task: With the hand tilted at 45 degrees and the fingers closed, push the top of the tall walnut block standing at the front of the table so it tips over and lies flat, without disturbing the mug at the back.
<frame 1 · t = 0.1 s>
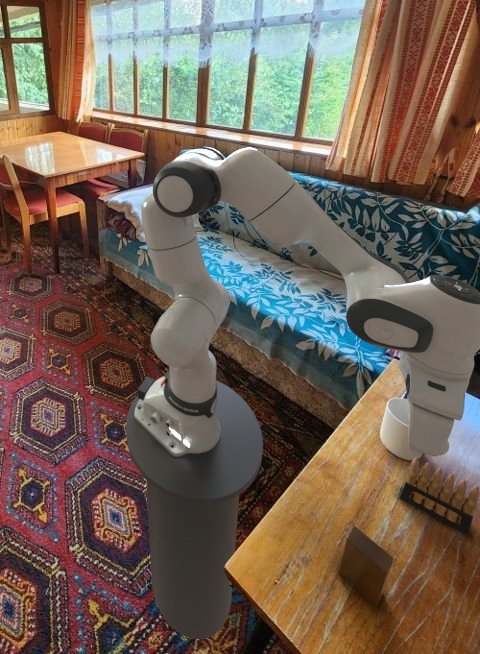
hand: (414, 427, 66), 25 cm above the table, tool pointing down, fingers open, 8 cm apart
mug: (409, 450, 86), on the table
ammunition clip: (431, 512, 74), on the table
walnut block: (360, 582, 65), on the table
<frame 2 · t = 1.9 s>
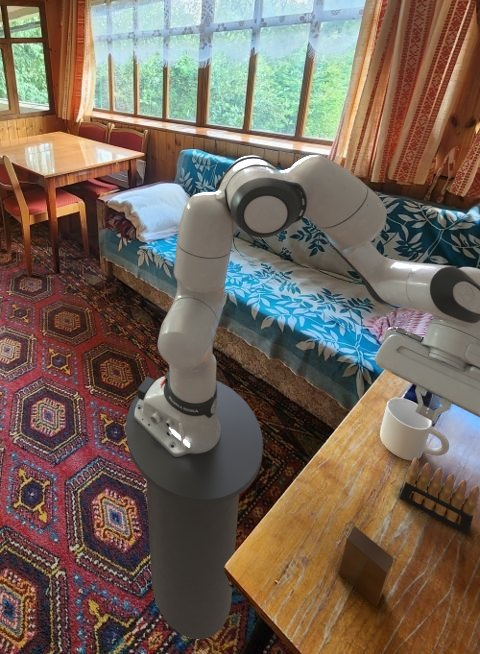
hand: (425, 417, 68), 25 cm above the table, tool tilted 45°, fingers closed
nothing on the table moved.
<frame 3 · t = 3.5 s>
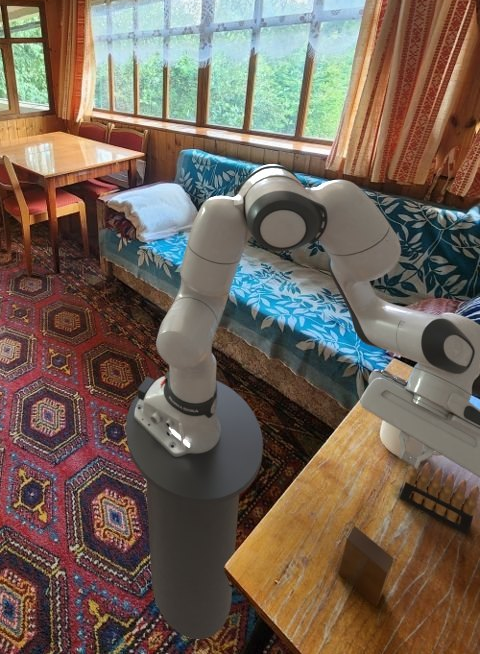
hand: (407, 463, 69), 16 cm above the table, tool tilted 45°, fingers closed
nothing on the table moved.
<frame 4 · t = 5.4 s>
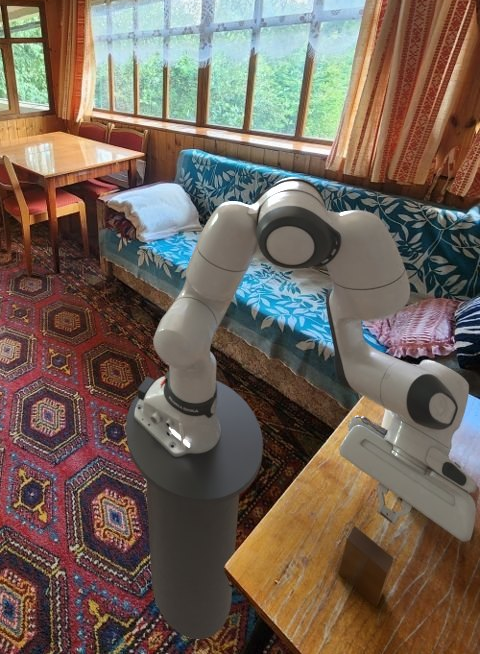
hand: (386, 518, 67), 8 cm above the table, tool tilted 45°, fingers closed
nothing on the table moved.
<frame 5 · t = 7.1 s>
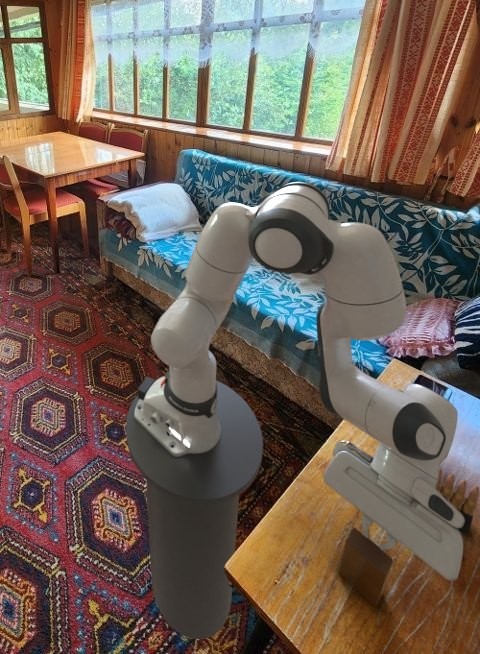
hand: (370, 552, 64), 6 cm above the table, tool tilted 45°, fingers closed, pressing on walnut block
walnut block: (360, 582, 65), on the table, touching gripper
everything else where it was.
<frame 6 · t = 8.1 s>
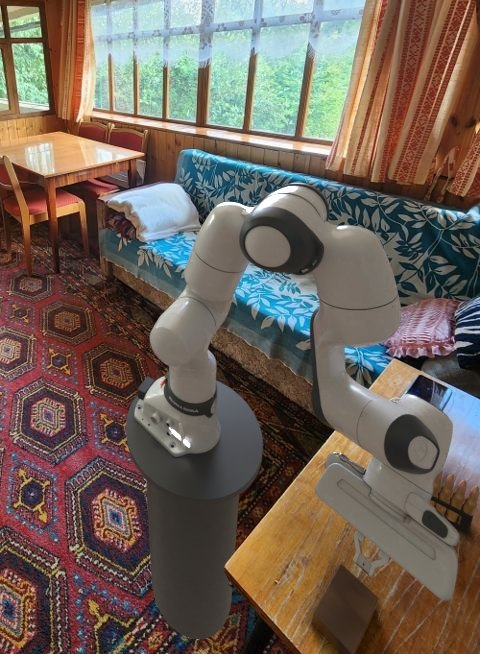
hand: (362, 568, 62), 6 cm above the table, tool tilted 45°, fingers closed
walnut block: (357, 585, 64), point 1 cm above the table, tilted 90°
everything else where it was.
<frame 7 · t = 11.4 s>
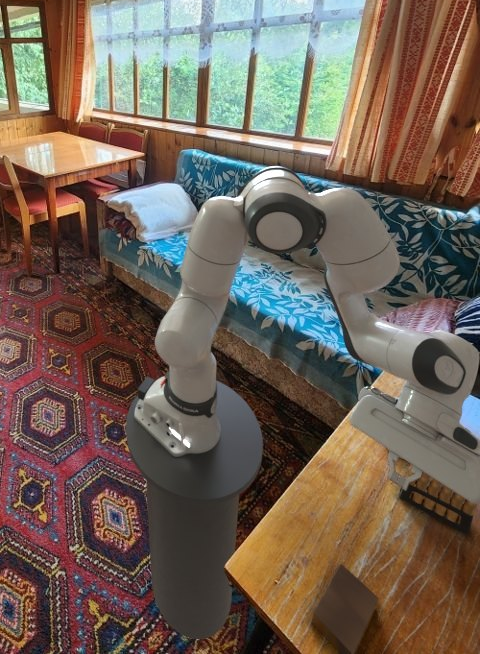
hand: (396, 484, 68), 13 cm above the table, tool tilted 45°, fingers closed
nothing on the table moved.
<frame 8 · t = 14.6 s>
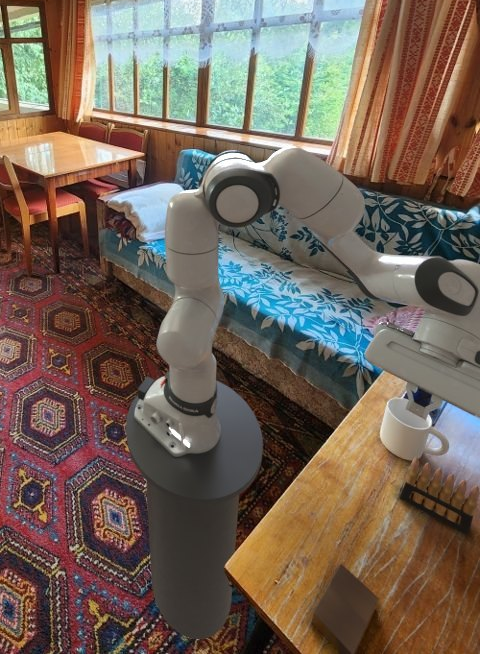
hand: (415, 414, 65), 27 cm above the table, tool tilted 45°, fingers closed
nothing on the table moved.
at the end: walnut block tilted 90°; walnut block point 1.5 cm above the table; mug moved 0.2 cm from its start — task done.
